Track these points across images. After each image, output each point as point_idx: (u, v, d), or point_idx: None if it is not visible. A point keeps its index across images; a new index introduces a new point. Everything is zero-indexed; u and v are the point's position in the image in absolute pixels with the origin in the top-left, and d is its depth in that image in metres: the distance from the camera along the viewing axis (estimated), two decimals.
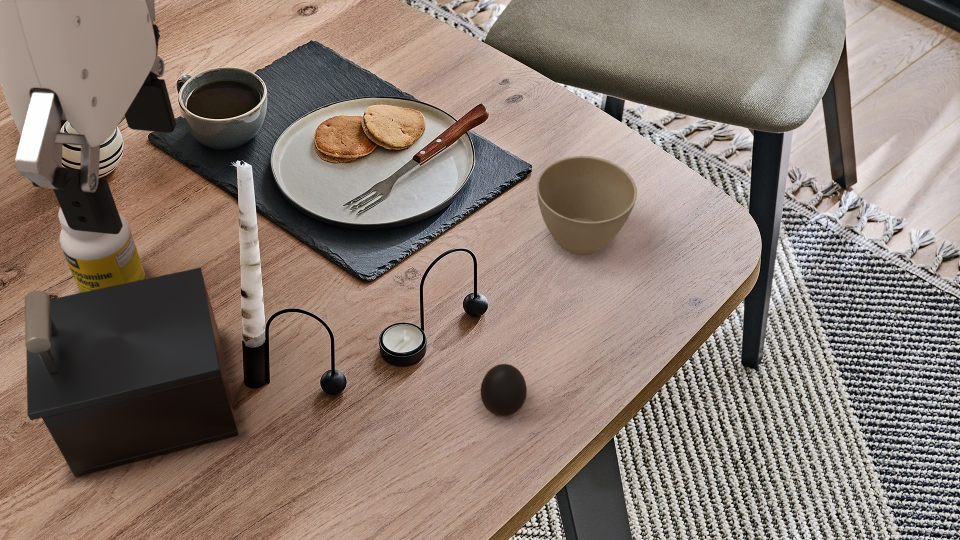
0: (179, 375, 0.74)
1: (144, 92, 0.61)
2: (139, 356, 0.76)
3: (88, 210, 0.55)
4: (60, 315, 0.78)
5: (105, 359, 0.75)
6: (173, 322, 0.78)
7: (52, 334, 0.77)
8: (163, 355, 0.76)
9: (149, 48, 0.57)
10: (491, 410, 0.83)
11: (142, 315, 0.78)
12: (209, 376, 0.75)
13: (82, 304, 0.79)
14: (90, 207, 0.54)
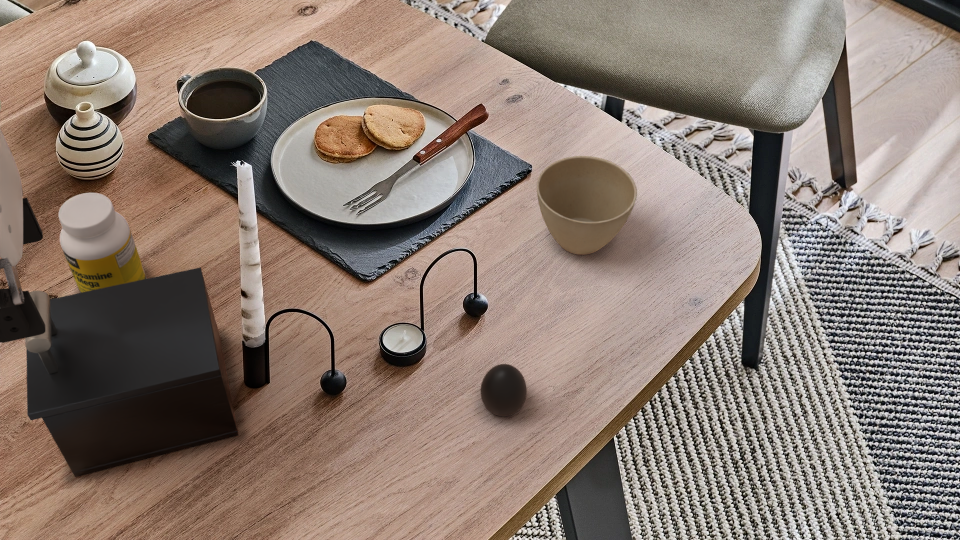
0: (179, 375, 0.74)
1: None
2: (139, 356, 0.76)
3: (19, 320, 0.64)
4: (60, 315, 0.78)
5: (105, 359, 0.75)
6: (173, 322, 0.78)
7: (52, 334, 0.77)
8: (163, 355, 0.76)
9: (18, 174, 0.67)
10: (491, 410, 0.83)
11: (142, 315, 0.78)
12: (209, 376, 0.75)
13: (82, 304, 0.79)
14: (21, 317, 0.64)
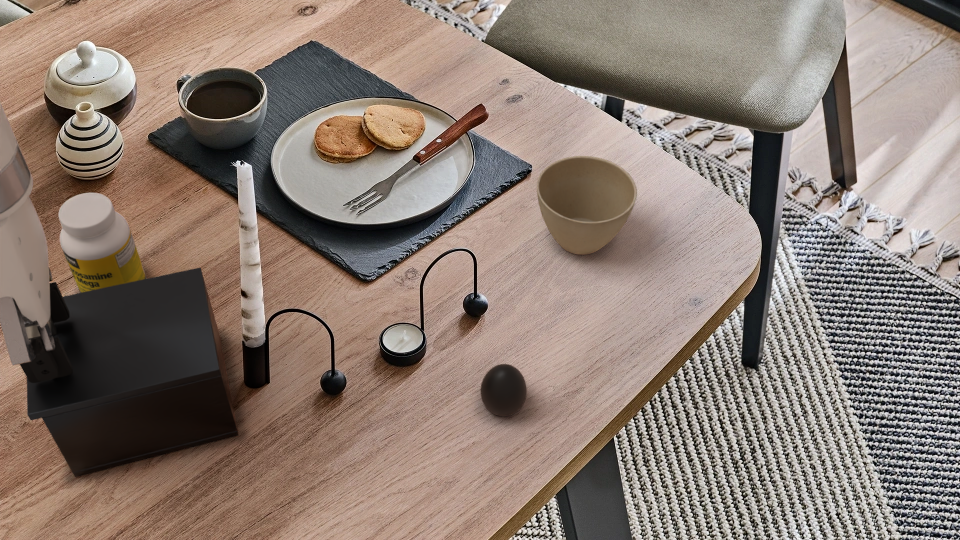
0: (179, 375, 0.74)
1: None
2: (139, 356, 0.76)
3: (50, 364, 0.71)
4: None
5: (105, 359, 0.75)
6: (173, 322, 0.78)
7: (52, 334, 0.77)
8: (163, 355, 0.76)
9: (44, 237, 0.72)
10: (491, 410, 0.83)
11: (142, 315, 0.78)
12: (209, 376, 0.75)
13: (82, 304, 0.79)
14: (51, 361, 0.71)
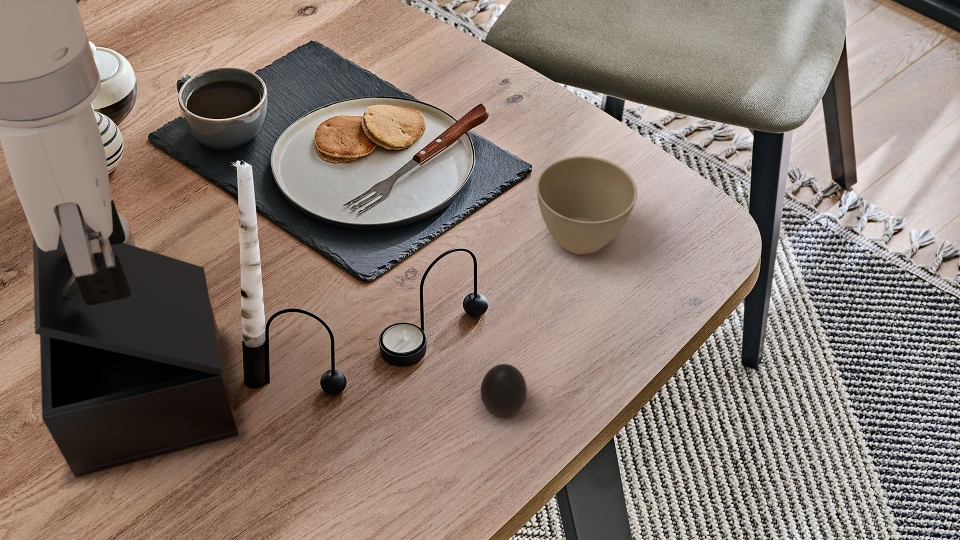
0: (187, 357, 0.73)
1: None
2: (150, 322, 0.73)
3: (109, 283, 0.67)
4: None
5: (117, 309, 0.72)
6: (180, 305, 0.77)
7: (64, 259, 0.72)
8: (172, 332, 0.74)
9: (104, 150, 0.68)
10: (491, 410, 0.83)
11: (151, 284, 0.76)
12: (209, 371, 0.75)
13: None
14: (111, 280, 0.67)
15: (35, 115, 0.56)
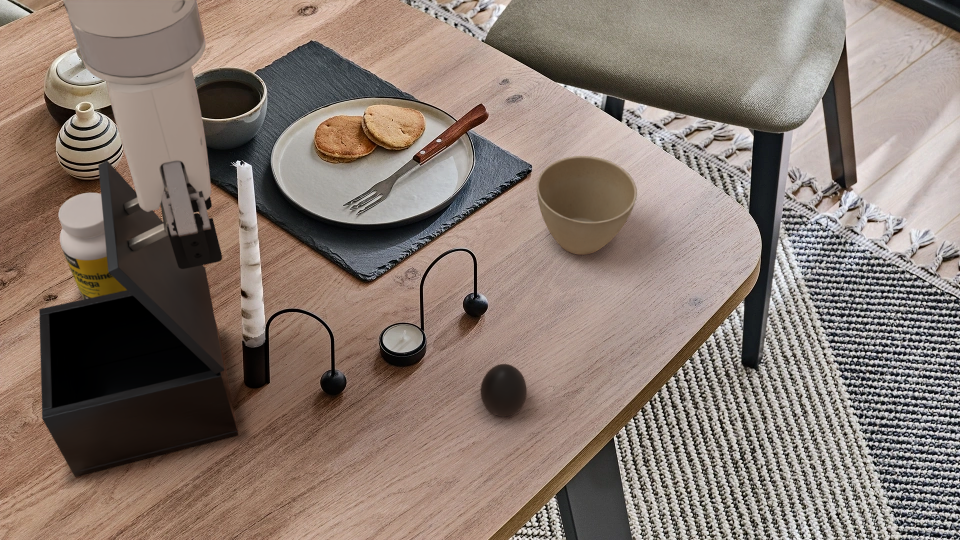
0: (204, 347, 0.73)
1: None
2: (180, 301, 0.73)
3: (204, 246, 0.68)
4: (130, 200, 0.72)
5: (161, 277, 0.71)
6: (196, 296, 0.77)
7: (127, 212, 0.70)
8: (193, 318, 0.74)
9: None
10: (491, 410, 0.83)
11: None
12: (212, 367, 0.74)
13: (142, 209, 0.74)
14: (206, 243, 0.68)
15: (147, 71, 0.57)
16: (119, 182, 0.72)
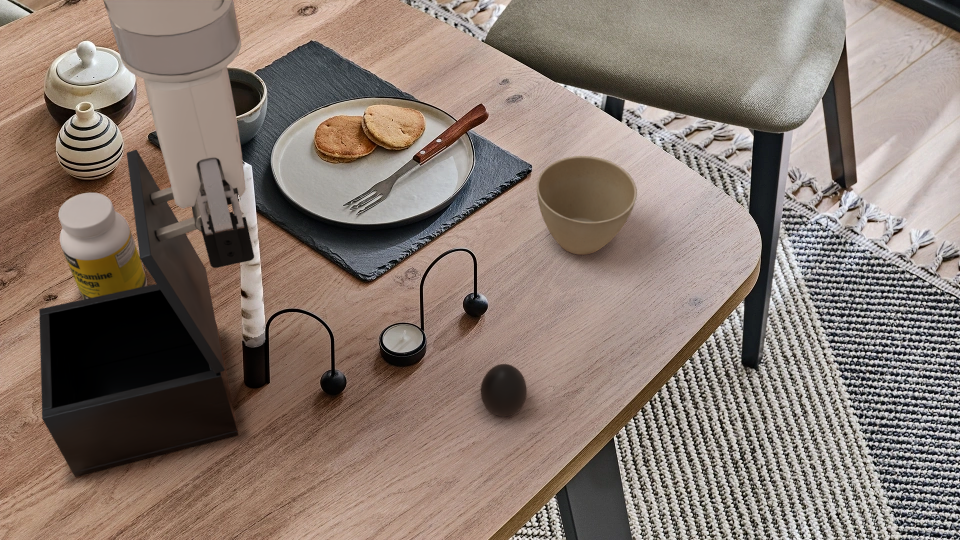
0: (210, 345, 0.73)
1: None
2: (192, 297, 0.73)
3: (237, 245, 0.68)
4: (153, 191, 0.72)
5: (178, 271, 0.71)
6: (202, 294, 0.77)
7: (152, 202, 0.71)
8: (202, 316, 0.74)
9: None
10: (491, 410, 0.83)
11: (188, 263, 0.76)
12: (214, 366, 0.74)
13: None
14: (239, 241, 0.68)
15: (186, 69, 0.57)
16: (145, 172, 0.72)
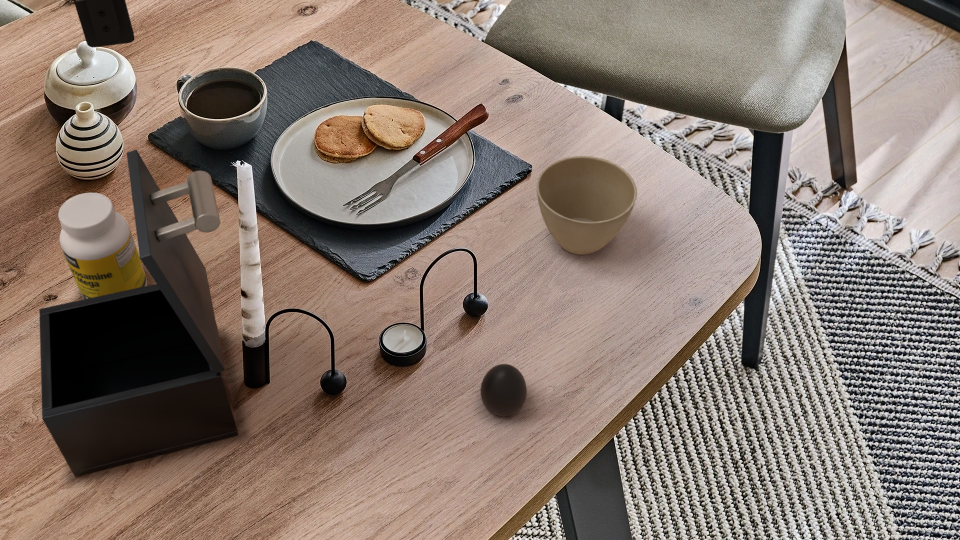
0: (210, 345, 0.73)
1: None
2: (192, 297, 0.73)
3: (112, 17, 0.64)
4: (153, 191, 0.72)
5: (178, 271, 0.71)
6: (202, 294, 0.77)
7: (152, 202, 0.71)
8: (202, 316, 0.74)
9: None
10: (491, 410, 0.83)
11: (188, 263, 0.76)
12: (214, 366, 0.74)
13: None
14: (114, 14, 0.64)
15: None
16: (145, 172, 0.72)
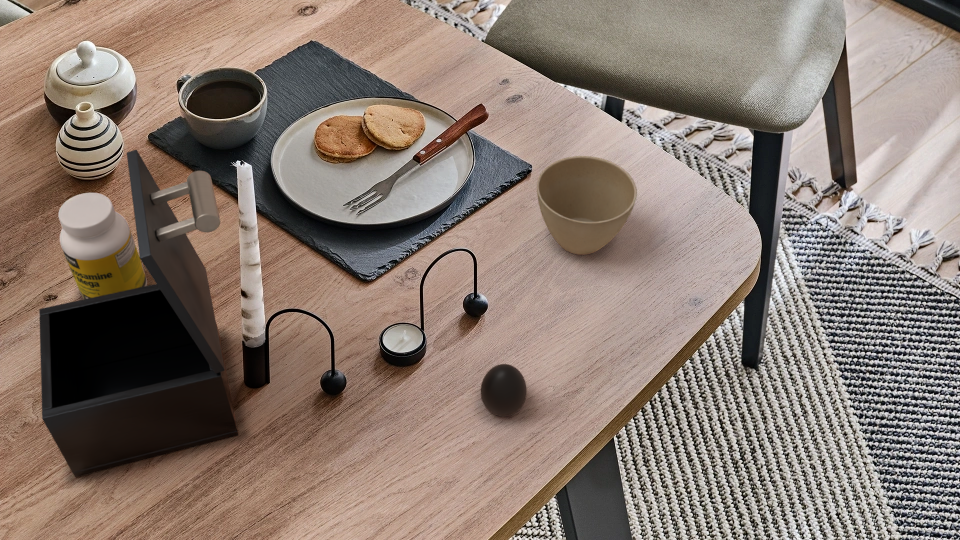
0: (210, 345, 0.73)
1: None
2: (192, 297, 0.73)
3: None
4: (153, 191, 0.72)
5: (178, 271, 0.71)
6: (202, 294, 0.77)
7: (152, 202, 0.71)
8: (202, 316, 0.74)
9: None
10: (491, 410, 0.83)
11: (188, 263, 0.76)
12: (214, 366, 0.74)
13: None
14: None
15: None
16: (145, 172, 0.72)
